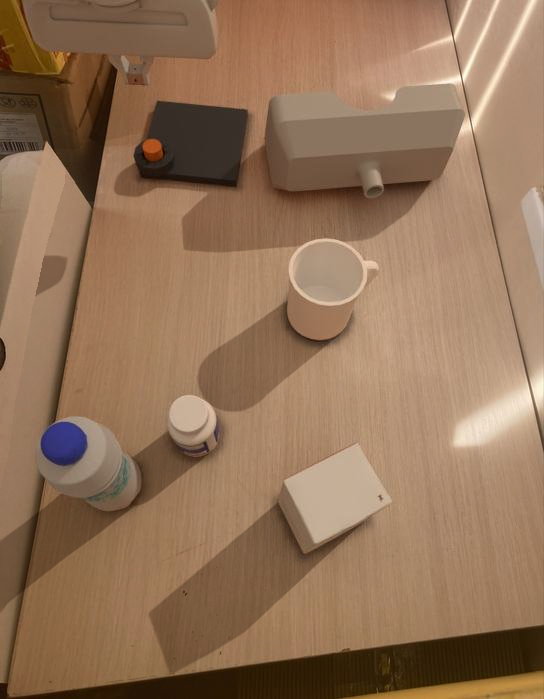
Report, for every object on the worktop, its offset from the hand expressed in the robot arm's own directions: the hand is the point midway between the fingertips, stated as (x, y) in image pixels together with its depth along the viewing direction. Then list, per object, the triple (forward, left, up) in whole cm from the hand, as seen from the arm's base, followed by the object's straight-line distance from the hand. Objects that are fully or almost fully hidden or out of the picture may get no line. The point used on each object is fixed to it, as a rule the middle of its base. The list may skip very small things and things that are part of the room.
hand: (138, 81), depth 65 cm
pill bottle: (+12, -39, -15) cm, 44 cm away
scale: (+5, +5, -15) cm, 16 cm away
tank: (+29, +2, -15) cm, 33 cm away
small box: (+27, -46, -15) cm, 55 cm away
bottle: (+4, -46, -15) cm, 48 cm away
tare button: (0, 0, -12) cm, 12 cm away
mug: (+26, -21, -15) cm, 37 cm away
